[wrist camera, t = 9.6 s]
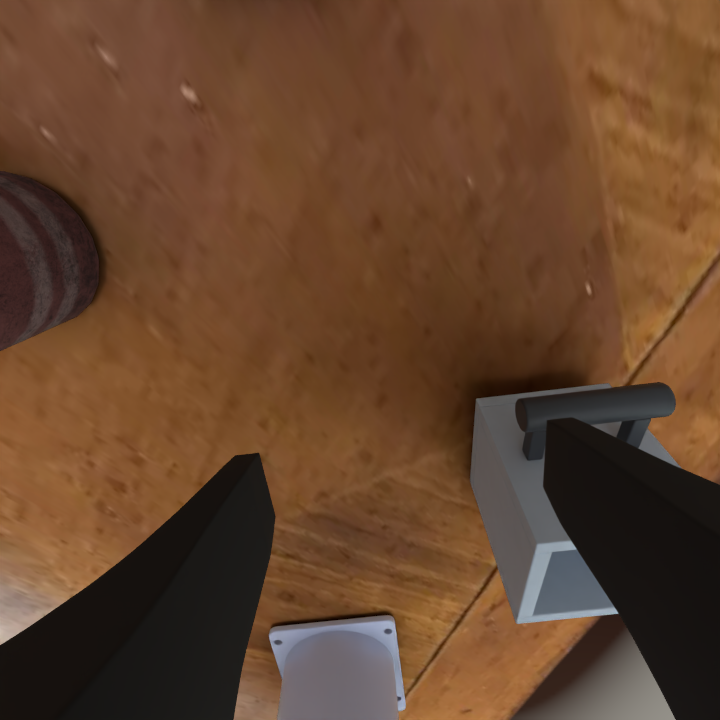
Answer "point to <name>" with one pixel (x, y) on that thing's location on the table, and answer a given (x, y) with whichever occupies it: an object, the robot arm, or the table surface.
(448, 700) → the table surface
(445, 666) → the table surface
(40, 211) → the can
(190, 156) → the table surface
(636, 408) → the handled open box
